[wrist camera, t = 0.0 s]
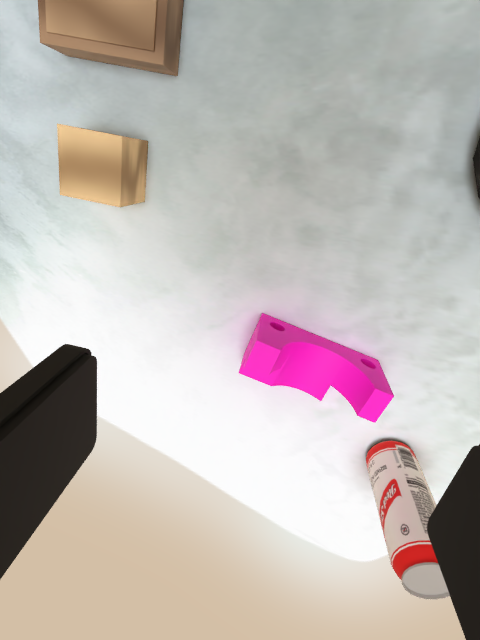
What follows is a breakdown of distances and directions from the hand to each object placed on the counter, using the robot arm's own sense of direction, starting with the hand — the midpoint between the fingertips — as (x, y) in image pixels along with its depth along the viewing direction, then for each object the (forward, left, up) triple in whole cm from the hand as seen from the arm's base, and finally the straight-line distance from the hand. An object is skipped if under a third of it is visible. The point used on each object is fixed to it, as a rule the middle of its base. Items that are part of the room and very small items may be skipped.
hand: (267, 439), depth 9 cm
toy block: (+14, +6, -32) cm, 36 cm away
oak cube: (-3, -19, -32) cm, 37 cm away
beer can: (+26, +20, -32) cm, 46 cm away
